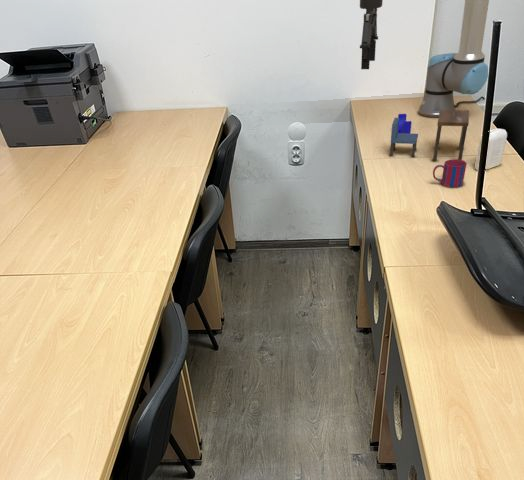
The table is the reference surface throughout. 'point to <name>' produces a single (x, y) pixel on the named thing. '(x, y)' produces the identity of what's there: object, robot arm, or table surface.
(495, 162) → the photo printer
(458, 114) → the desk
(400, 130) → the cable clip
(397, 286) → the table surface
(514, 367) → the table surface
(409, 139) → the chair
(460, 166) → the mug
